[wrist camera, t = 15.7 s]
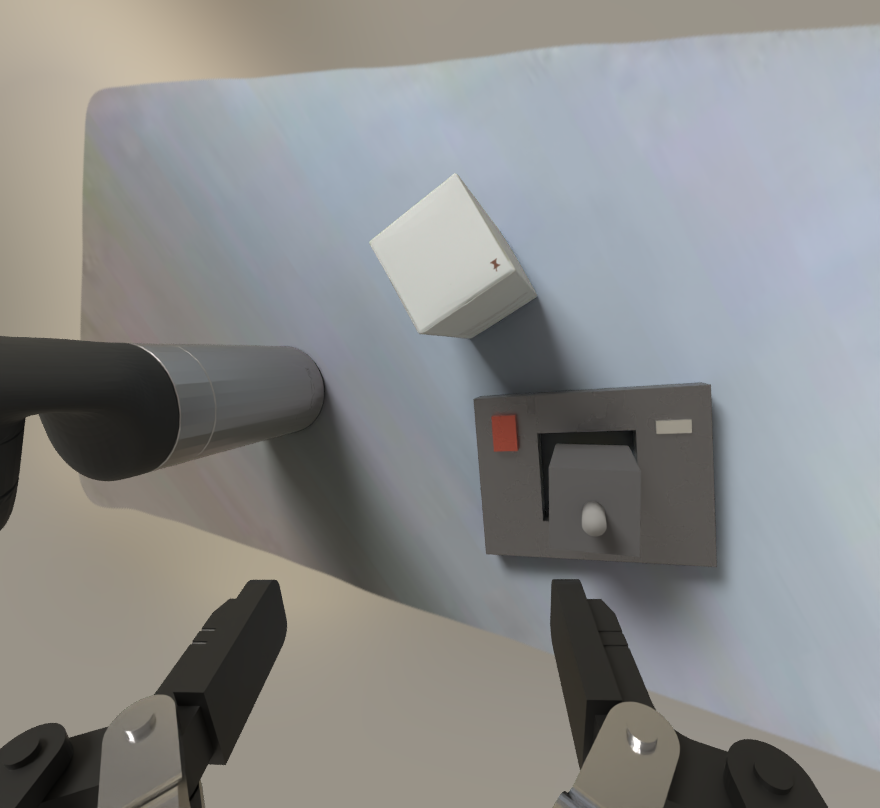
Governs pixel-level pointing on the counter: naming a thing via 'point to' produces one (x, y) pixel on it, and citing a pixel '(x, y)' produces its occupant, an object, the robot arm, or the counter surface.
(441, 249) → the supplement box
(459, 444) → the counter surface
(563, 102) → the counter surface
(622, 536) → the plug
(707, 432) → the socket
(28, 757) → the robot arm
